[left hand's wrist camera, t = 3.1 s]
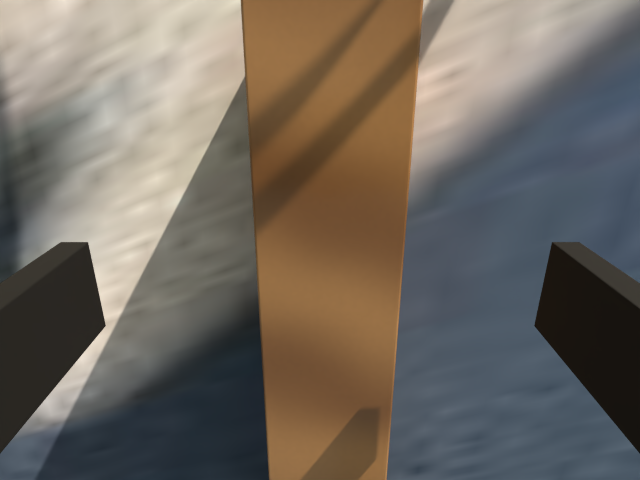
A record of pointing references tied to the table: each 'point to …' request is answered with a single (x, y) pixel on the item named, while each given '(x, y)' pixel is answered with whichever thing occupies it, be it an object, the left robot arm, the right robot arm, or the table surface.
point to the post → (330, 222)
